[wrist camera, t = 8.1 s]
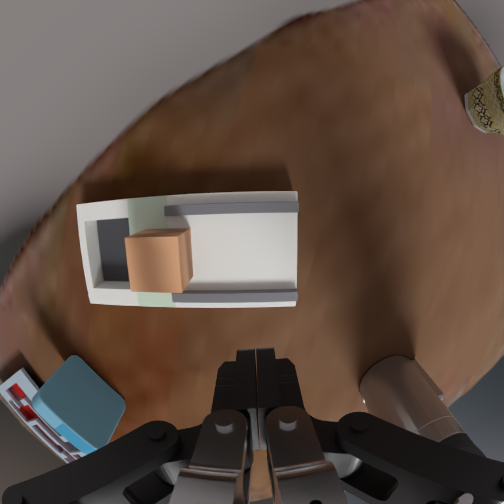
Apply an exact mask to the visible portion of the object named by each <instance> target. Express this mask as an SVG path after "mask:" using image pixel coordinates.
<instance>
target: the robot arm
mask: <svg viewBox="0 0 504 504" xmlns="http://www.w3.org/2000/svg"><path fill="white" fill-rule="evenodd" d="M256 356H257V374H256V359H255V349H237V355H236V361H230V362H224V363H223V364H222V365H221V367H220V368H219V369H218V374H217V379H216V386H215V391H214V397H213V403H212V409H211V413H210V414H208V415H207V416H206V417H205V418H204V420H203V423H202V424H200V425H198V426H195V427H192V428H186V429H181V430H177V429H176V427H175V426H174V425H172V424H171V423H168V422H165V421H151V422H148V423H146V424H144V425H142V426H140V427H138V428H137V429H135V430H133V431H131V432H130V433H128V434H126V435H124V436H122V437H120V438H119V439H117V440H115V441H113V442H111V443H109V444H107V445H105V446H103V447H101V448H99V449H97V450H95V451H93V452H91V453H89V454H87V455H85V456H83V457H81V458H79V459H77V460H75V461H72V462H70V463H68V464H66V465H63V466H61V467H59V468H57V469H54V470H52V471H49V472H47V473H45V474H42V475H40V476H37V477H34V478H32V479H29V480H27V481H24V482H21V483H18V484H15V485H12V486H10V487H8V488H7V489H6V490H5V491H4V493H3V496H2V504H168V503H169V504H249V496H250V487H251V477H252V464H253V450H259V426H260V440H261V450H264V449H267V463H268V472H269V478H270V484H271V490H272V496H273V502H274V504H349V503H348V500H347V497H346V495H345V492H344V490H346V491H347V492H349V493H351V494H353V495H355V496H356V497H358V498H360V499H362V500H364V501H366V502H368V503H370V504H504V462H500V461H496V460H492V459H489V458H486V456H485V455H484V454H483V452H482V451H481V450H480V449H479V448H478V447H477V446H476V445H475V444H474V443H473V442H472V441H471V439H470V438H469V437H468V435H467V434H466V433H465V431H464V430H463V428H462V427H461V426H460V424H459V423H458V422H457V420H456V419H455V418H454V417H453V415H452V414H451V412H450V411H449V410H448V408H447V407H446V406H445V404H444V403H443V402H442V401H443V399H444V394H443V393H442V391H441V390H440V389H439V388H438V386H437V385H436V384H435V383H434V381H433V380H432V379H431V378H430V377H429V375H428V374H427V373H426V372H425V371H424V369H423V368H422V367H421V366H420V365H419V363H418V362H417V361H416V360H415V359H414V360H409V359H408V358H406V357H404V356H398V355H396V356H391V357H388V358H385V359H383V360H381V361H379V362H378V363H376V364H375V365H374V366H372V367H371V368H370V369H369V370H368V371H367V373H366V374H365V375H364V377H363V379H362V381H361V383H360V389H359V390H360V394H361V396H362V398H363V401H364V403H365V405H366V407H367V409H368V411H369V413H365V412H353V413H349V414H347V415H345V416H343V417H342V418H341V419H340V420H339V421H338V422H330V421H322V420H318V419H315V418H313V417H312V416H310V415H309V414H308V413H307V412H306V410H305V408H304V404H303V400H302V395H301V391H300V387H299V382H298V378H297V375H296V370H295V365H294V364H293V363H292V362H291V361H290V360H289V359H288V358H284V359H275V352H274V347H273V348H257V349H256ZM257 386H258V392H257ZM258 412H259V423H258Z"/></svg>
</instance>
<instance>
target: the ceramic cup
mask: <svg viewBox="0 0 504 504" xmlns="http://www.w3.org/2000/svg"><path fill="white" fill-rule="evenodd" d="M464 97H465V111H466V113H467V115H468V117H469V118H470V120H471V122H472V124H473V126H474V127H476V128H477V129H479V130H481V131H482V132H484V133H494V134H501V135H504V66H503V67H501V68H499V69H498V70H496V71H495V72H494V73H492V74H491V75H490V76H489V77H488V78H487V79H486V80H485V81H484V82H483V83H481V84H480V85H478V86H477V87H475V88H474V89H472V90H471V91H469V92H468V93H466V94H465V95H464Z"/></svg>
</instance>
